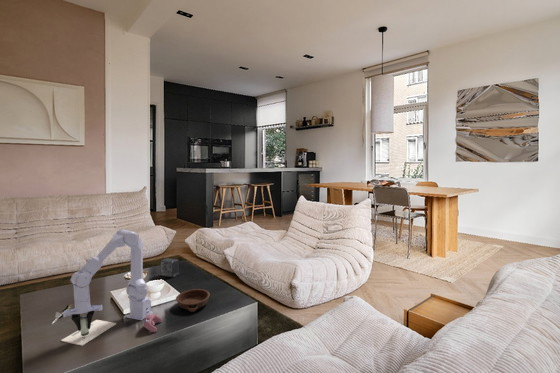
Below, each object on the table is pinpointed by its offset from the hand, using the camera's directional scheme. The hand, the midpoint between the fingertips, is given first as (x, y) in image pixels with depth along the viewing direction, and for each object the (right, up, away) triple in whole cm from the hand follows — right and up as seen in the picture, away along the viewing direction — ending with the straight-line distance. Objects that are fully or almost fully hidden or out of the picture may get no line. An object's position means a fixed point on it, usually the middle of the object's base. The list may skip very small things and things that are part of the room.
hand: (84, 328), depth 139 cm
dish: (+39, -1, +30) cm, 50 cm away
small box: (+12, +3, +73) cm, 74 cm away
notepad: (-1, -4, +5) cm, 6 cm away
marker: (0, -2, 0) cm, 2 cm away
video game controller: (+27, -3, +8) cm, 28 cm away
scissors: (-25, -3, +22) cm, 34 cm away
